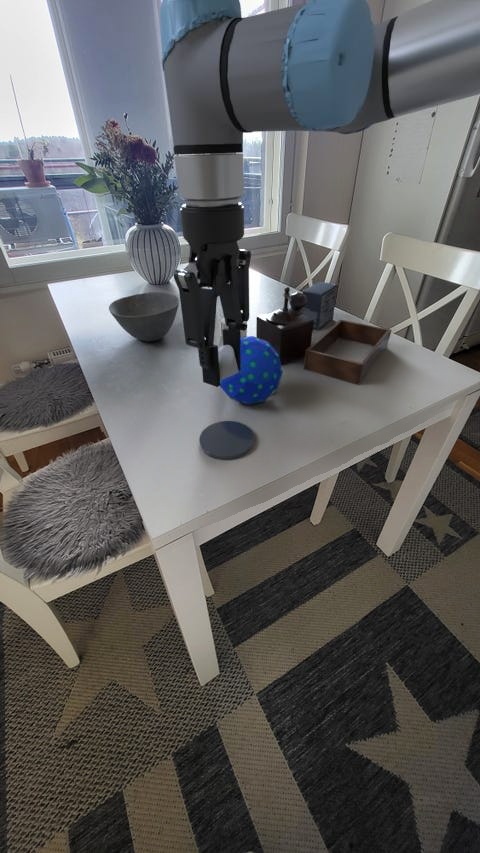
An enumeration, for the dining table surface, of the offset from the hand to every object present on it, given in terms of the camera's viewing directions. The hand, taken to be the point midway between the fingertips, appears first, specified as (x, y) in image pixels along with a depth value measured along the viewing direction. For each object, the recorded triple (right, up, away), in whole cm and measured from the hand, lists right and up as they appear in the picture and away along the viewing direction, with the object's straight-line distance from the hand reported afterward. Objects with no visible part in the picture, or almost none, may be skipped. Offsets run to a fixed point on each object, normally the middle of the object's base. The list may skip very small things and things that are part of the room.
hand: (222, 375), depth 55 cm
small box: (+26, +23, +50) cm, 61 cm away
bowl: (-23, +17, +45) cm, 53 cm away
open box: (+30, +9, +32) cm, 45 cm away
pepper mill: (+15, +10, +34) cm, 38 cm away
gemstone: (0, 0, 0) cm, 1 cm away
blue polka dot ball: (+5, -1, +20) cm, 21 cm away
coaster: (0, -11, +9) cm, 14 cm away
